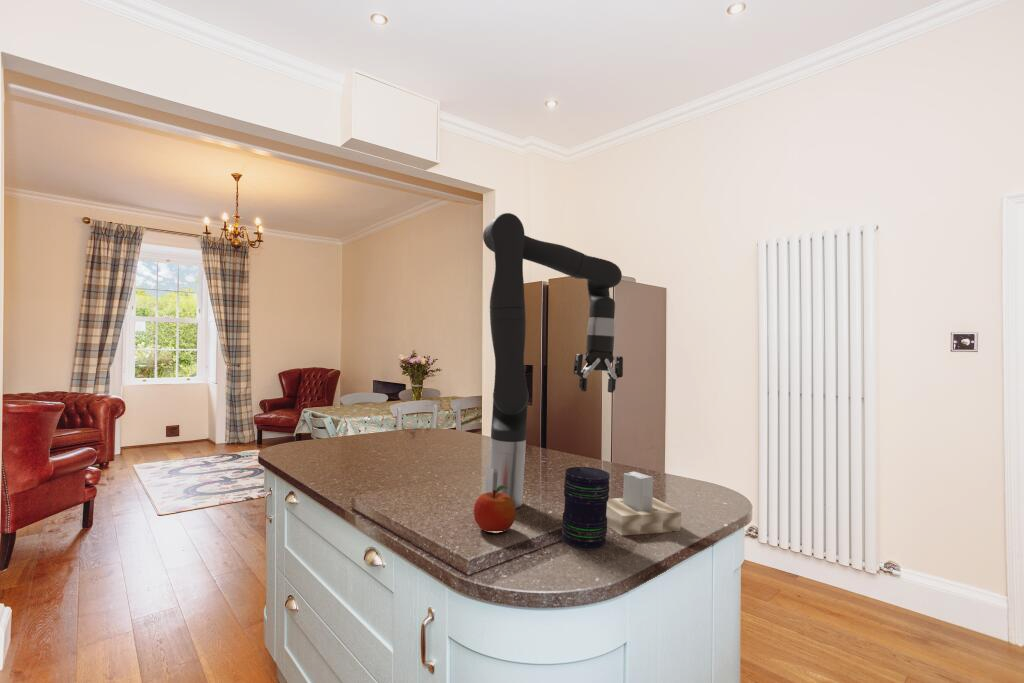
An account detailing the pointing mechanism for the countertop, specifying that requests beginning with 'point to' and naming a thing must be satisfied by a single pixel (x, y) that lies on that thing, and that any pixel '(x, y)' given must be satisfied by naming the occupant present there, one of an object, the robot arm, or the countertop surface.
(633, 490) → the skincare box
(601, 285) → the robot arm
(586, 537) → the storage jar
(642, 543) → the countertop surface
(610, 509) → the well block
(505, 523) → the fruit
